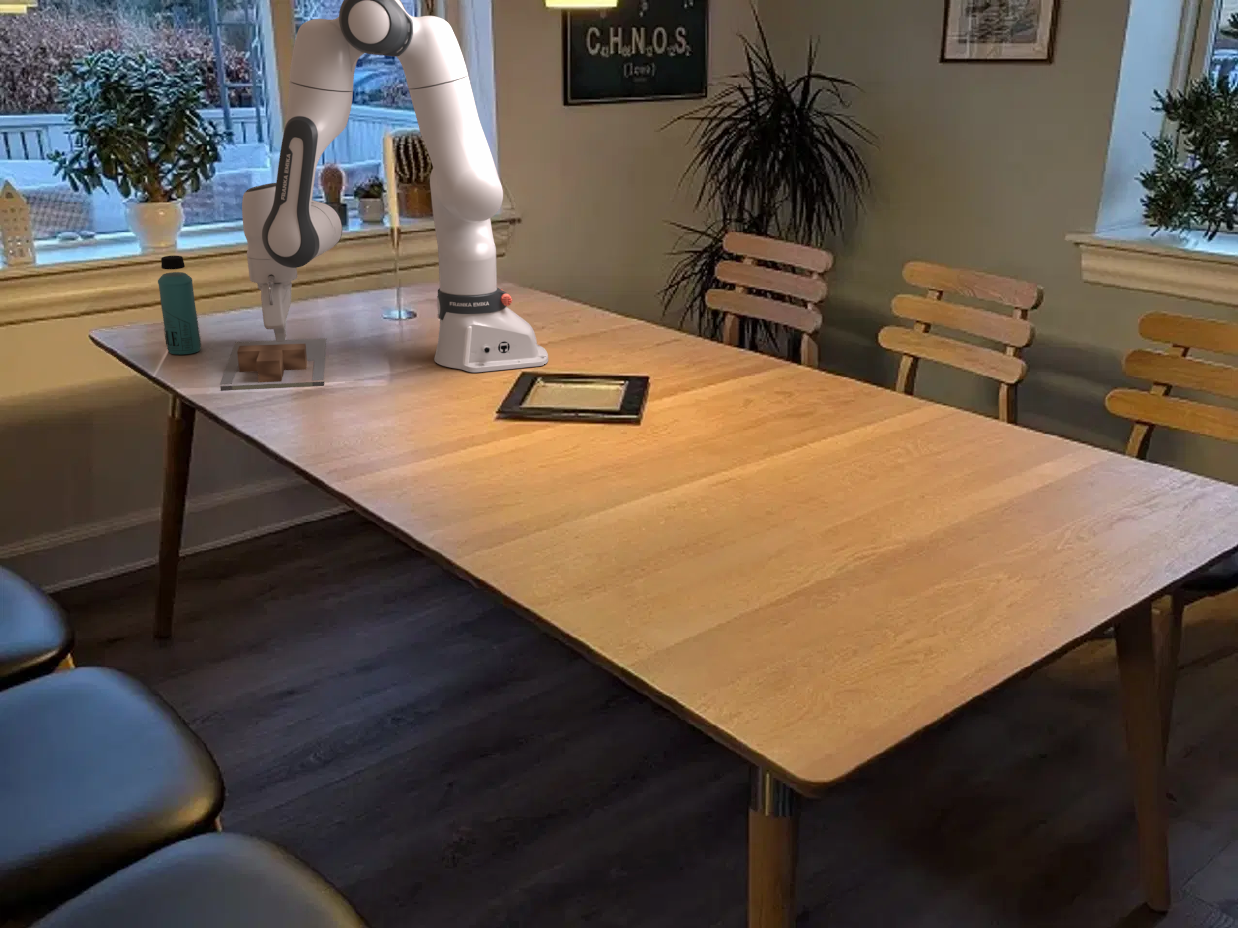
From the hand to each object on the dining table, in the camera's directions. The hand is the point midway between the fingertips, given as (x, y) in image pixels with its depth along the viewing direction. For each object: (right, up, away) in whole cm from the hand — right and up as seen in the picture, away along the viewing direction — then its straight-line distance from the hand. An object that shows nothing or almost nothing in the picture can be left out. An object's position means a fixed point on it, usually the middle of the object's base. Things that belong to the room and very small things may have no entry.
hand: (281, 340), depth 218 cm
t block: (+2, -8, -12) cm, 14 cm away
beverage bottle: (-19, -4, +1) cm, 19 cm away
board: (0, -5, -3) cm, 6 cm away
